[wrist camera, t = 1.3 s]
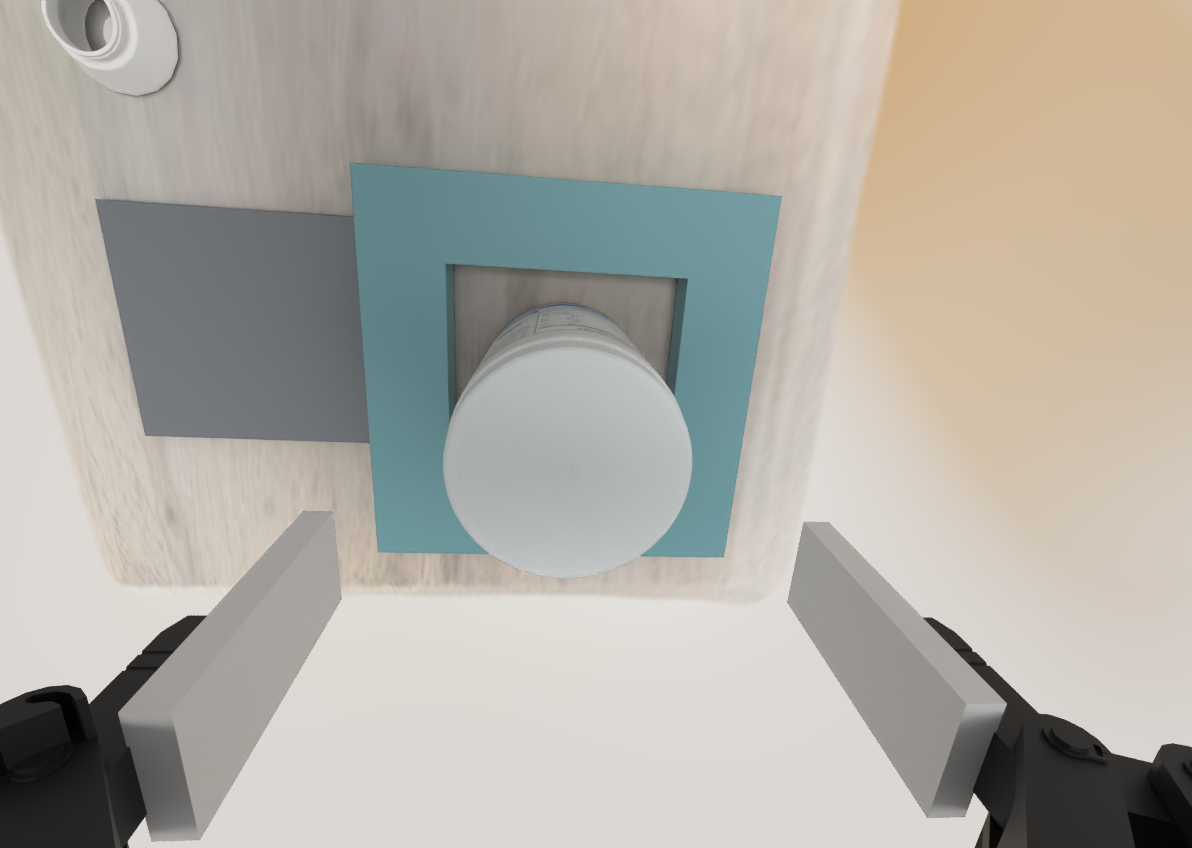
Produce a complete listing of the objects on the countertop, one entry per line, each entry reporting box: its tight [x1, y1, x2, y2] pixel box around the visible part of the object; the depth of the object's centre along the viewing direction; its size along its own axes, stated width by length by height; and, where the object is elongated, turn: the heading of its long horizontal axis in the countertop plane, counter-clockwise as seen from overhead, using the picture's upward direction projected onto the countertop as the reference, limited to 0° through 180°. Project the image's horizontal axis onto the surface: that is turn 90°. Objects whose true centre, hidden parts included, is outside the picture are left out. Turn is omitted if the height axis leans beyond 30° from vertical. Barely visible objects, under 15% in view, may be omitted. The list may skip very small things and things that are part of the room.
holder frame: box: [350, 163, 782, 557], centre depth 33 cm, size 22×22×2 cm
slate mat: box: [95, 199, 370, 443], centre depth 31 cm, size 13×13×1 cm
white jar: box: [41, 0, 178, 96], centre depth 26 cm, size 5×3×5 cm
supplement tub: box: [443, 303, 692, 578], centre depth 27 cm, size 10×10×15 cm
